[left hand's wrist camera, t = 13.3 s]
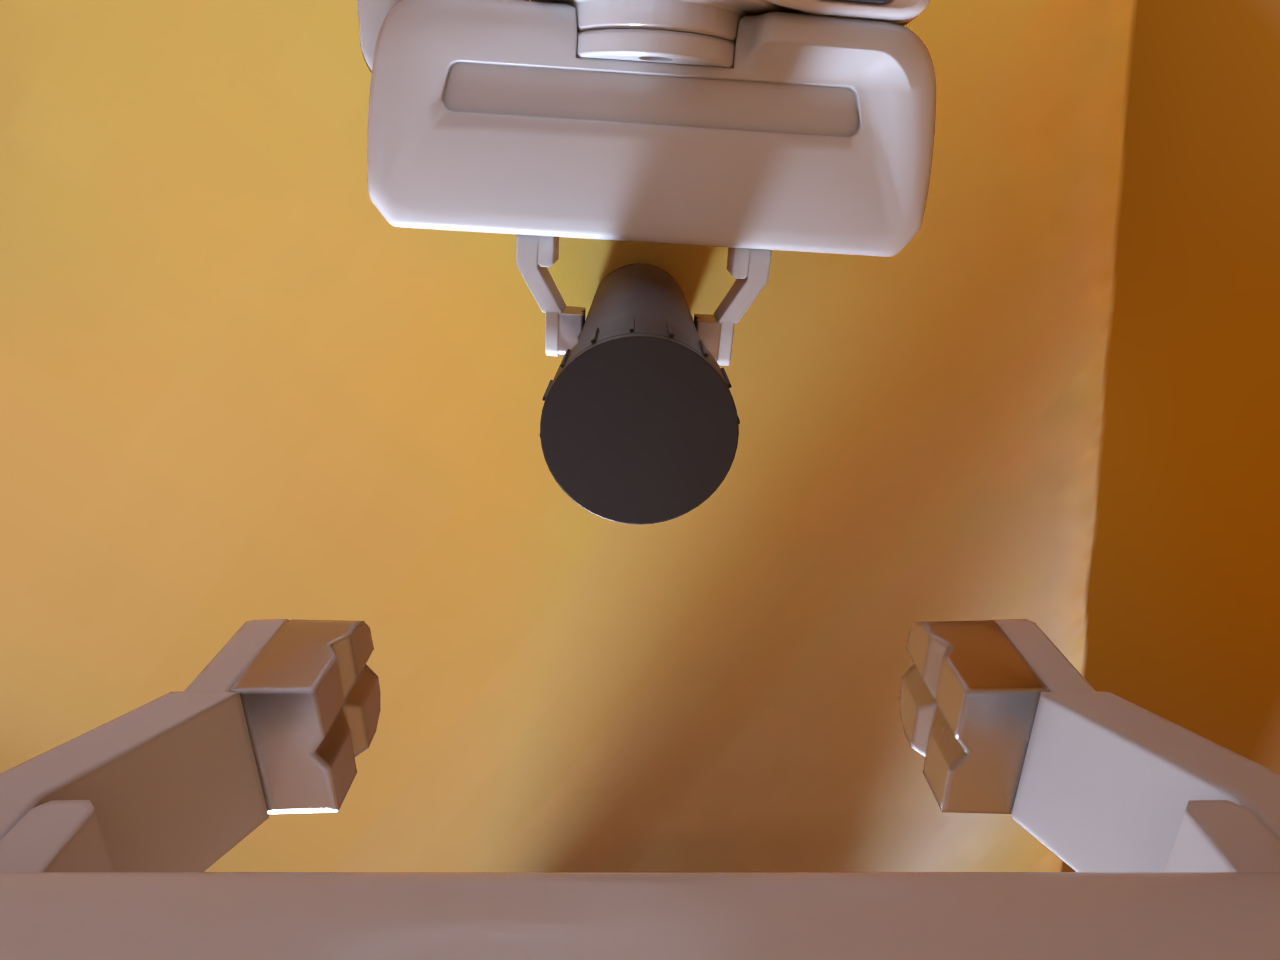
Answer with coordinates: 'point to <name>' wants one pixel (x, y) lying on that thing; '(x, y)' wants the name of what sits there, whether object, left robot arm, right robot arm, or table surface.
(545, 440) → the lid
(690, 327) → the dark grey cylinder
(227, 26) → the table surface
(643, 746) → the table surface
